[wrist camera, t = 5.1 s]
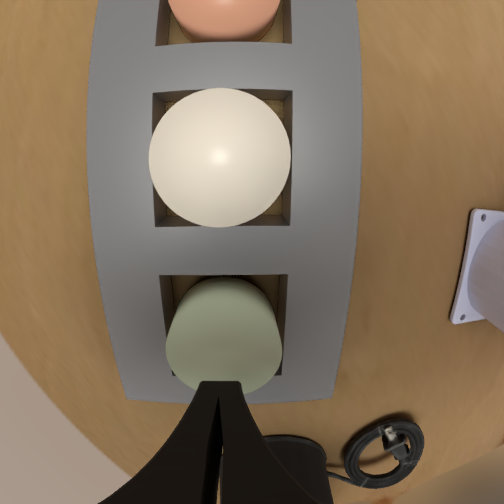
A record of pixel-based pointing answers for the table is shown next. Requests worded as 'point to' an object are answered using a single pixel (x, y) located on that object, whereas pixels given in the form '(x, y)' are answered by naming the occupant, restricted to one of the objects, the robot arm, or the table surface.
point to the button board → (239, 236)
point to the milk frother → (347, 458)
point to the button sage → (224, 335)
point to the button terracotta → (224, 19)
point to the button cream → (219, 157)
